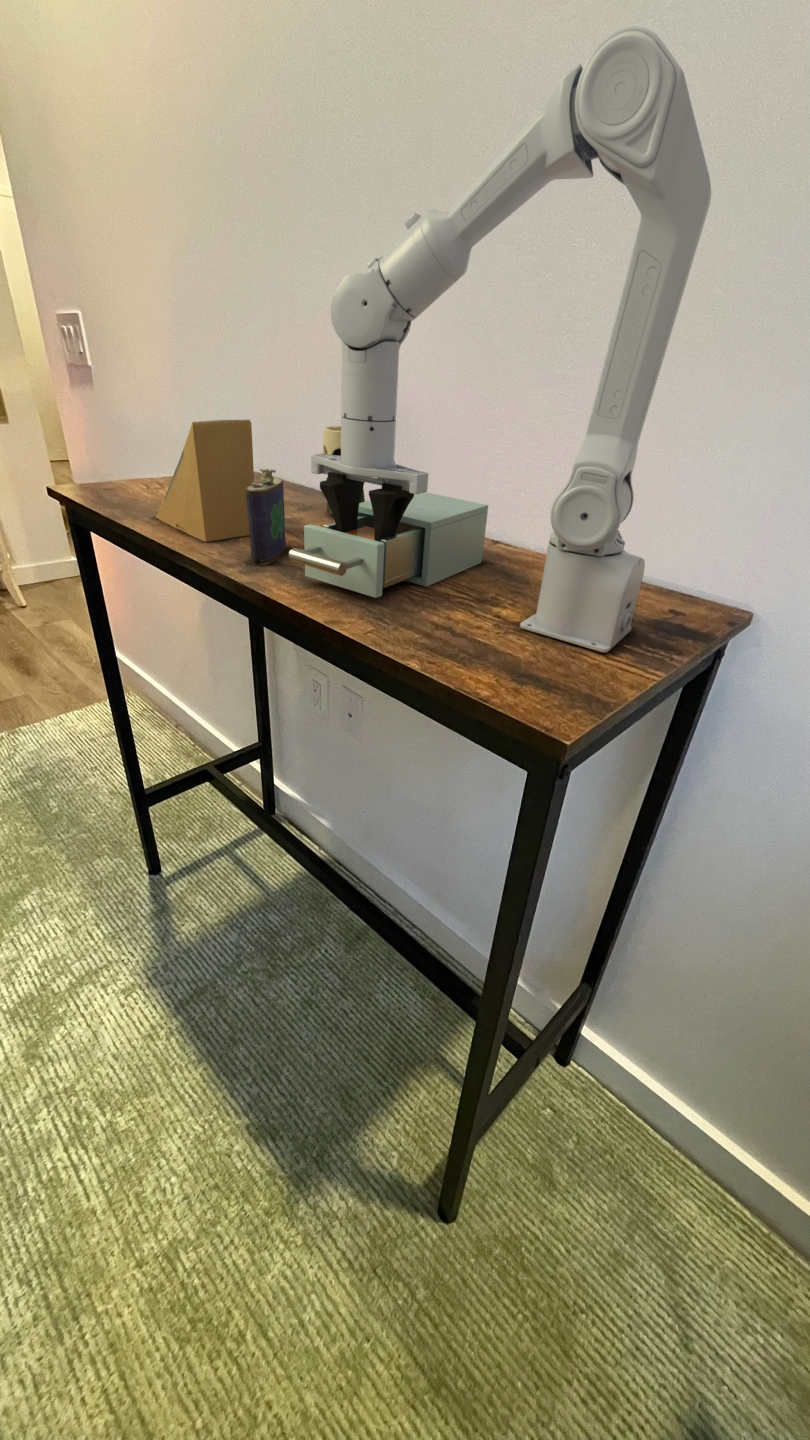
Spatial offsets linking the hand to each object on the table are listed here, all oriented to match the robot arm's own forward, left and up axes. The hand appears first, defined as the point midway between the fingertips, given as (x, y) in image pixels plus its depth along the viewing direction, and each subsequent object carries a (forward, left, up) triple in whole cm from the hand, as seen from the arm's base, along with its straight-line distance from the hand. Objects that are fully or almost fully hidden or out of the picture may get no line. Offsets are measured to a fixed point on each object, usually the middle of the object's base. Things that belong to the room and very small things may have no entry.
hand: (365, 548), depth 73 cm
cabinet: (0, -11, -4) cm, 12 cm away
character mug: (+23, -24, -4) cm, 34 cm away
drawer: (0, +1, -3) cm, 3 cm away
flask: (+16, 0, -4) cm, 17 cm away
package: (0, 0, -1) cm, 1 cm away
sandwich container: (+33, -4, -4) cm, 33 cm away
